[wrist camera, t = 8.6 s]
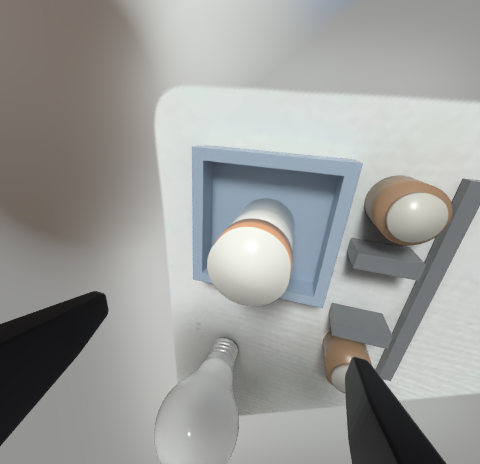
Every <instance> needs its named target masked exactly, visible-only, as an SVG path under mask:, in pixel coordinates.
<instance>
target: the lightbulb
mask: <svg viewBox="0 0 480 464" xmlns="http://www.w3.org/2000/svg"><path fill="white" fill-rule="evenodd" d="M237 353H238V348H237V346H236V344H235V343H234V342H233V341H231V340H229V339H227V338H219V339H217V340H215V342H214V344H213V346H212V349H211V351H210V353H209V356H208V358H207V360H206V361H204V362H203V363H202V365H201V366H200V367H199V369H198V370H197V371H196V372H195V373H194V374H193V375H191V376H189V377H187V378H186V379H184V380H182V381H181V382H180V383H178V384H177V385H176V386H175V387H174V388H173V389H172V390H171V391H170V392H169V393H168V395H167V396H166V398H165V399H164V401H163V403H162V405H161V407H160V409H159V412H158V415H157V418H156V422H155V429H154V442H155V448H156V453H157V456H158V459H159V461H160V463H161V464H226V463H227V461H228V460H229V458H230V456H231V454H232V452H233V450H234V447H235V444H236V441H237V436H238V429H239V417H238V410H237V405H236V402H235V398H234V395H233V391H232V382H233V374H232V370H233V366H234V363H235V360H236V356H237Z"/></svg>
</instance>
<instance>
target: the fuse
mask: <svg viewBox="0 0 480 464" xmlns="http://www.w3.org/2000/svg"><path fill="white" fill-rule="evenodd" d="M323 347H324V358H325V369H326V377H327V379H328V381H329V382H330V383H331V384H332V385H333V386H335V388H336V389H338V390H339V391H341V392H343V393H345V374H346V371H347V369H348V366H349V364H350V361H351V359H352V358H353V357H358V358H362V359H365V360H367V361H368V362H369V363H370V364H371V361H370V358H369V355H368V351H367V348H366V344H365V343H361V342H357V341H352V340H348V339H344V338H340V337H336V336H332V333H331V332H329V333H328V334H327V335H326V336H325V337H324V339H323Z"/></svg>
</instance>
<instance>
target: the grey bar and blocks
mask: <svg viewBox="0 0 480 464" xmlns="http://www.w3.org/2000/svg"><path fill="white" fill-rule="evenodd" d="M479 206H480V180H470V179H463V180H462V182H461V184H460V186H459V188H458V191H457V193H456V195H455V197H454V199H453V202H452V216H451V219H450V222H449V223H448V225H447V227H446V228H445V229H444V230H443V231H442V232H441V233H440V234H439V235H438V236H437V237H436V239H435V241H434V243H433V246H432V248H431V250H430V252H429V254H428V256H427V259H426V261H425V263H424V262H423V261H422V260H421V259H420V258H419V257H418V256H417V255H416V254H415V253H414V251H413V250H412V249H411V248H409V247H403V246H397V245H391V244H384V243H378V242H372V241H366V240H360V239H353V238H351V240H350V243H349V247H348V250H347V254H348V256H349V259H350V262H351V264H352V267H353V269H359V270H364V271H369V272H375V273H380V274H386V275H391V276H396V277H402V278H407V279H413V280H417V281H416V283H415V285H414V287H413V289H412V292H411V294H410V296H409V298H408V300H407V303H406V305H405V307H404V309H403V311H402V314H401V316H400V318H399V320H398V322H397V325H396V327H395V329H394V331H393V333H392V334H391V332H390V330H389V328H388V325H387V323H386V321H385V319H384V316H383V314H381V313H376V312H371V311H367V310H362V309H358V308H353V307H348V306H344V305H339V304H334V303H332V305H331V308H330V312H329V318H330V325H331V333H332V336H336V337H340V338H344V339H348V340H352V341H357V342H361V343H365V344H369V345H373V346H377V347H381V348H385V351H384V353H383V355H382V358H381V360H380V362H379V364H378V366H377V369H376V372H377V373H378V374H379V376H380V377H381V378H382V379H385V380H389V381H391V379H392V377H393V375H394V373H395V372H396V370H397V368H398V366H399V364H400V362H401V360H402V358H403V356H404V354H405V352H406V350H407V348H408V346H409V344H410V342H411V340H412V338H413V336H414V334H415V332H416V330H417V328H418V326H419V324H420V322H421V320H422V318H423V316H424V314H425V312H426V310H427V308H428V306H429V305H430V303H431V301H432V299H433V297H434V295H435V293H436V291H437V289H438V287H439V285H440V283H441V281H442V279H443V277H444V275H445V273H446V271H447V269H448V267H449V265H450V263H451V261H452V259H453V257H454V255H455V253H456V251H457V249H458V247H459V245H460V243H461V241H462V239H463V237H464V236H465V234H466V232H467V230H468V228H469V226H470V224H471V222H472V220H473V218H474V216H475V214H476V212H477V210H478V208H479Z"/></svg>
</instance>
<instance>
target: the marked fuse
mask: <svg viewBox="0 0 480 464" xmlns="http://www.w3.org/2000/svg"><path fill="white" fill-rule="evenodd" d="M294 230H295V222H294V218H293V215H292V213H291V211H290V210H289V209H288V208H287V207H286V206H285V205H284V204H283V203H281V202H279V201H277V200H275V199H270V198H261V199H257V200H254V201H252V202H251V203H249V204H248V205H247V206H246V207H245V208H244V209H243V211H242V212H241V213H240V214H239V215H238V217H237V218H236V219H235V220H234V221H233V223H232V224H231V225H230V226H229V227H228V228H227V229H226V230H225V231H224V232H223V233H222V234H221V236H220V237H219V238H218V239H217V241H216V242H215V244H214V246H213V247H212V248H211V250H210V252H209V255H208V259H207V269H208V274H209V277H210V279H211V281H212V283H213V285H214V286H215V287H216V289H217V290H218V291H219V292H220V293H221V294H222V295H224V296H225V297H226V298H228V299H229V300H231V301H233V302H236V303H238V304H241V305H246V306H263V305H267V304H269V303H272V302H274V301H275V300H277V299H278V298H279V297H281V295H282V294H283V293H284V292H285V290H286V289H287V286H288V284H289V279H290V275H291V269H292V259H293V252H292V250H293V240H294Z"/></svg>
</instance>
